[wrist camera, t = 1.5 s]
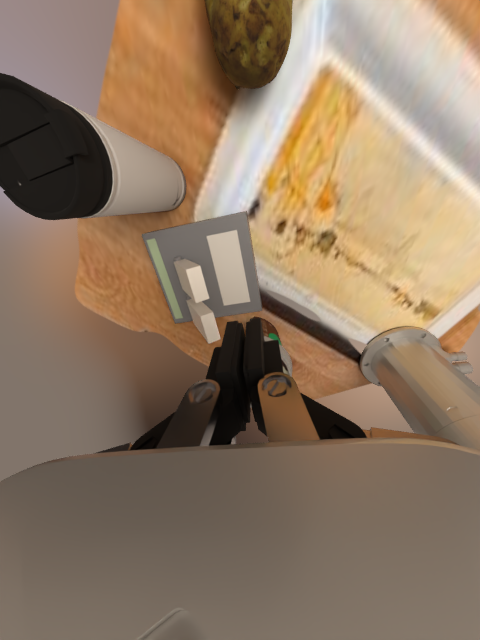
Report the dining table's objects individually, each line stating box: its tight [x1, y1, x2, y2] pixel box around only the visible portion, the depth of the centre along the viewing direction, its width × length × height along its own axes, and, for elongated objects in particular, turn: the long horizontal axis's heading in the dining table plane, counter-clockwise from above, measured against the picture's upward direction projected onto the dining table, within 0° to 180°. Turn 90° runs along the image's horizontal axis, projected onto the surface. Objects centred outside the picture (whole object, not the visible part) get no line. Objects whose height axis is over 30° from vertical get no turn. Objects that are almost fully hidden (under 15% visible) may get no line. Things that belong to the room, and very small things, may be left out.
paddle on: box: [174, 256, 209, 303], centre depth 27 cm, size 2×4×8 cm, turn 11°
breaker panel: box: [142, 211, 262, 323], centre depth 32 cm, size 14×14×3 cm
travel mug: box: [0, 73, 186, 220], centre depth 20 cm, size 6×7×20 cm
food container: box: [250, 317, 292, 407], centre depth 35 cm, size 12×6×10 cm, turn 174°
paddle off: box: [186, 295, 221, 344], centre depth 30 cm, size 2×4×8 cm, turn 11°
